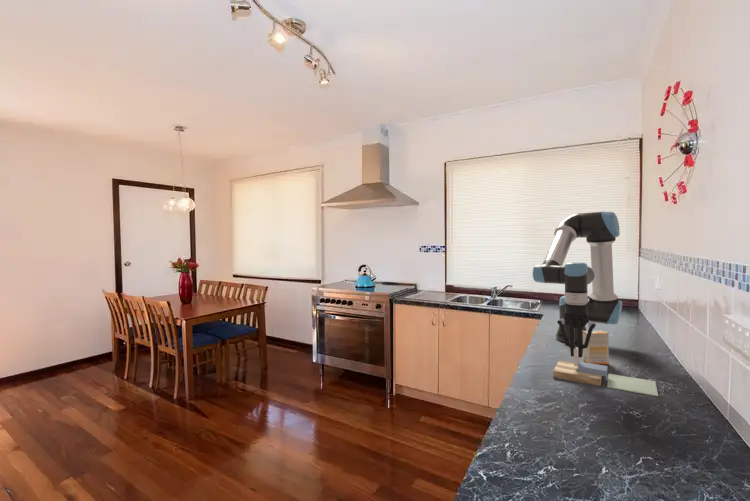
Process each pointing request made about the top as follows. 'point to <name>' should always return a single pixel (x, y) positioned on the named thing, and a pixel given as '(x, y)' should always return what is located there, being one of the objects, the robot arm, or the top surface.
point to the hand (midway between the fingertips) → (576, 365)
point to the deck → (575, 374)
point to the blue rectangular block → (592, 369)
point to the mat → (632, 384)
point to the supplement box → (596, 348)
